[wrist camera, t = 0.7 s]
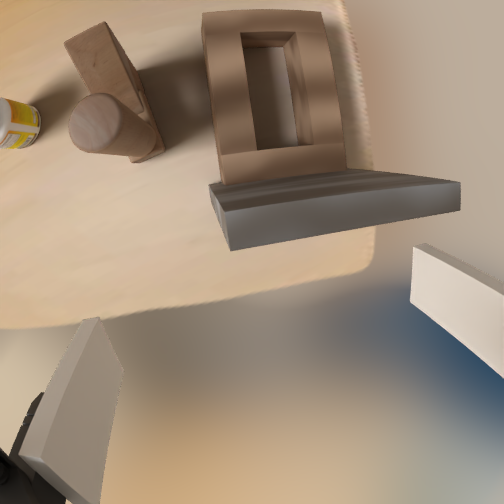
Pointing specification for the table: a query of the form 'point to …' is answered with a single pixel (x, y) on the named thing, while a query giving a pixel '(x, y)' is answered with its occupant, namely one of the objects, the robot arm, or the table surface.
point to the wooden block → (111, 100)
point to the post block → (309, 142)
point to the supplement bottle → (17, 124)
